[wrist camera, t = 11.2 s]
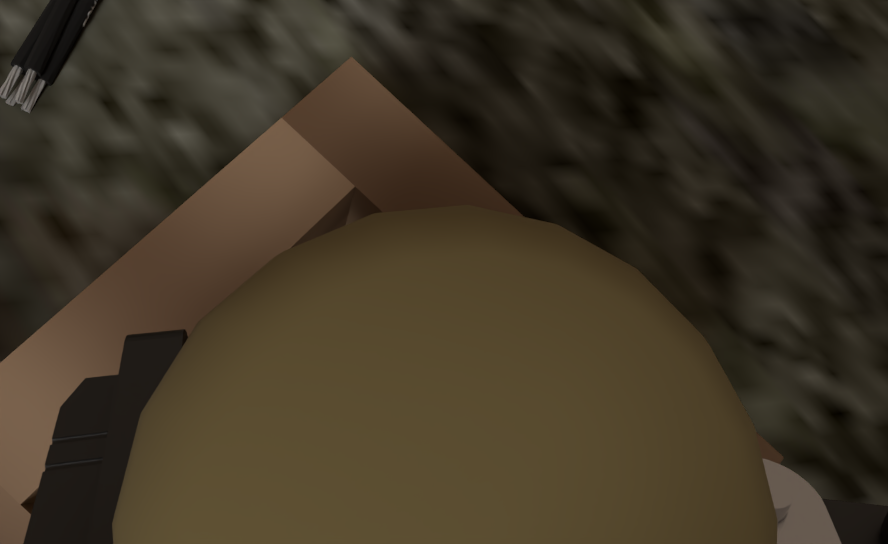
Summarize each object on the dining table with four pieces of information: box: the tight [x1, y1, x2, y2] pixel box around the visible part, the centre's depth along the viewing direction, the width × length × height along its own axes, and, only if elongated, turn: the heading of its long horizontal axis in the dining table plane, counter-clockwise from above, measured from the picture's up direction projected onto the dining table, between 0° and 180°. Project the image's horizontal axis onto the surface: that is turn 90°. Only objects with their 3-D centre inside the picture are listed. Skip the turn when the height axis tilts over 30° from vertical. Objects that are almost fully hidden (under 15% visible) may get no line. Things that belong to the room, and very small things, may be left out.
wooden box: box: [0, 57, 784, 544], centre depth 16 cm, size 12×12×5 cm
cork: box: [112, 205, 777, 544], centre depth 10 cm, size 6×6×11 cm
